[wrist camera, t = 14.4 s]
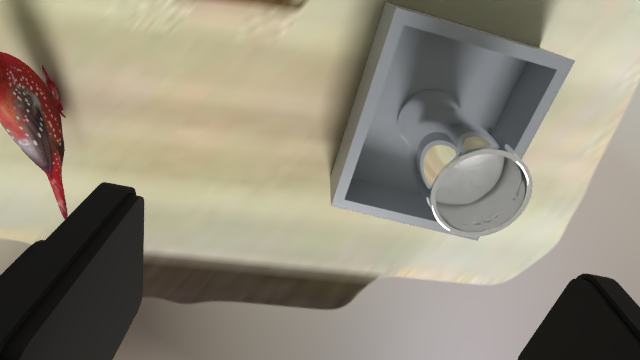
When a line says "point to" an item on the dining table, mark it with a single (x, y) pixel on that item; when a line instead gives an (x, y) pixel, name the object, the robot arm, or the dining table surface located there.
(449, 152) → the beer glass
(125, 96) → the dining table surface
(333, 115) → the dining table surface
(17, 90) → the decorative bird figurine
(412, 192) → the box
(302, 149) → the dining table surface
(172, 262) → the dining table surface
